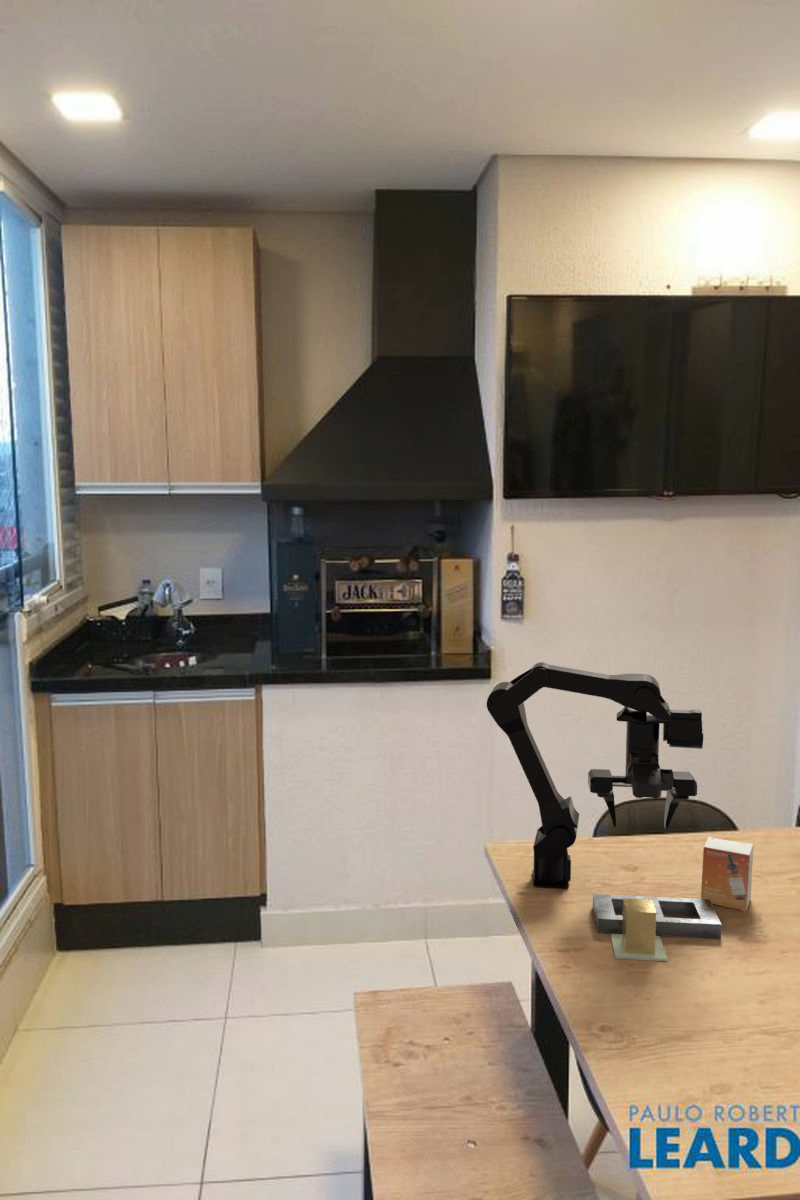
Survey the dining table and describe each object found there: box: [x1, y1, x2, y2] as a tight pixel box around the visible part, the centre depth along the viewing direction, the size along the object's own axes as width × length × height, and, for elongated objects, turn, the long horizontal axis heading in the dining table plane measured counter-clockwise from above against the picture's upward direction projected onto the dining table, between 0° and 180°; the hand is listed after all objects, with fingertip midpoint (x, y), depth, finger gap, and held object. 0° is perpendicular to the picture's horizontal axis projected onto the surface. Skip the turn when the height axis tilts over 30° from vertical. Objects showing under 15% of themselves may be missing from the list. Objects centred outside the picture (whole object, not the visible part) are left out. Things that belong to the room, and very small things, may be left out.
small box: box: [700, 836, 755, 912], centre depth 162 cm, size 8×6×10 cm
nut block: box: [621, 898, 656, 954], centre depth 146 cm, size 5×5×7 cm
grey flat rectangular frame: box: [592, 893, 723, 940], centre depth 155 cm, size 20×9×2 cm, turn 83°
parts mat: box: [610, 933, 668, 962], centre depth 146 cm, size 8×7×1 cm
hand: (640, 827), depth 165 cm, fingers open, 9 cm apart
